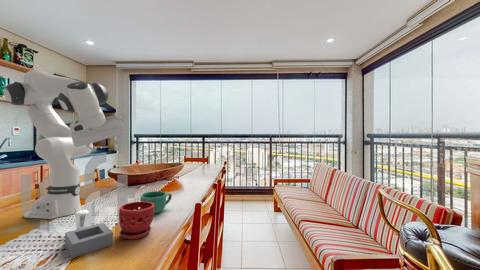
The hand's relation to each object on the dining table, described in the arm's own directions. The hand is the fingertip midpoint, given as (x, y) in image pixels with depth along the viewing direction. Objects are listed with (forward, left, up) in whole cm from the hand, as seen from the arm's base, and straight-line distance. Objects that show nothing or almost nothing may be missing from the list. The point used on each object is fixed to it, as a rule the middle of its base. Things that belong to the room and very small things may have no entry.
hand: (106, 147), depth 95 cm
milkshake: (-4, -10, -35) cm, 37 cm away
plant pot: (+19, -12, -35) cm, 42 cm away
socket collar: (+5, -20, -35) cm, 41 cm away
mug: (+20, +14, -35) cm, 43 cm away
